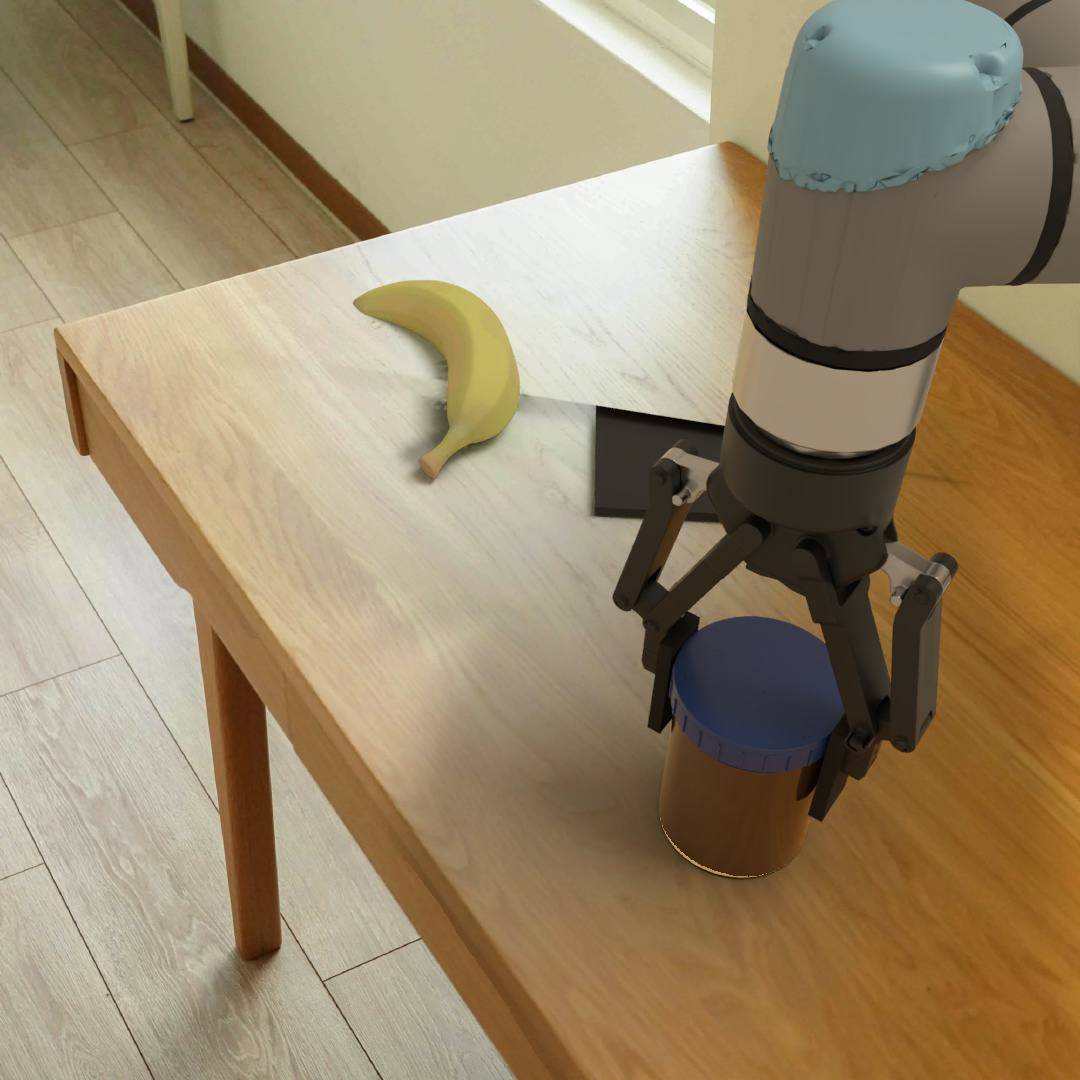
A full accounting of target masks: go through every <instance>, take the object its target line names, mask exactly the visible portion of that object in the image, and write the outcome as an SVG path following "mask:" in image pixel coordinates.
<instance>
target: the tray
mask: <svg viewBox="0 0 1080 1080" xmlns="http://www.w3.org/2000/svg"><path fill="white" fill-rule="evenodd" d="M724 428H725V424H717V423H711V422H705V421H699V420H698V421H697V420H692V419H686V418H680V417H673V416H667V415H660V414H654V413H648V412H642V411H635V410H628V409H622V408H615V407H610V406H603V405H597V404H596V405H595V437H594V439H595V443H594V504H593V505H594V509H593V511H594V512H593V515H594V516H595V517H612V518H613V517H614V518H633V519H634V518H635V519H644V517H645V514H646V512H647V509H648V507H649V505H650V498H649V470H650V469H651V468H652V467H653V466H654V465H655V464H656V463H657V462H658V461H659V460H660V459H661V458H662V457H663V456H664V455H665V454H666V453H667V452H668V451H669V450H670V449H671V448H672V447H673V446H674V445H675V444H676V443H677V442H678V441H679V440H682V439H686V440H689V441H691V442H692V443H693V444H695V445H696V447H697V449H698V452H699V457H701V458H704V459H707V460H710V461H714V462H717V463H720V452H721V446H722V440H723V434H724ZM685 521H691V522H710V523H711V522H712V523H721V521H720V519H719V517H718V515H717V513H716V511H715V509H714V507H713V505H712V503H711V501H710V499H709V497H708V494H707V491H704V492H703V493H702V494H701V495H700V496H699V497H698V498H697V499H696V500H695V501H694V502H693V503H692V505H691V507H690V510H689V512H688V514H687V516H686V519H685Z"/></svg>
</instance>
